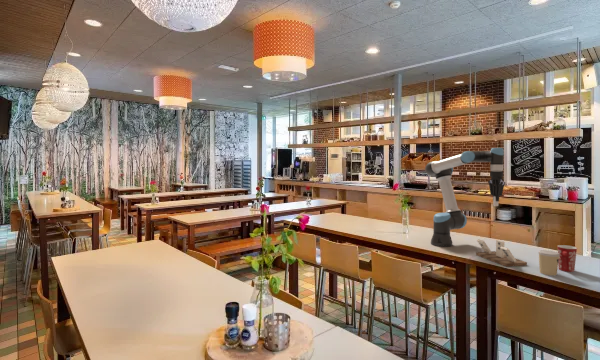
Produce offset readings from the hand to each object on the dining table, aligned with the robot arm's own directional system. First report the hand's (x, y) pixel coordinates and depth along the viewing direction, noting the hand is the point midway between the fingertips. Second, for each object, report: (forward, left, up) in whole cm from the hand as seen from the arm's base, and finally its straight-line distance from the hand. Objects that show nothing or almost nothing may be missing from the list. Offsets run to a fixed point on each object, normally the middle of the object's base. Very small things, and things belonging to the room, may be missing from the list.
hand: (495, 205), depth 231 cm
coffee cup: (+42, -2, -33) cm, 53 cm away
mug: (+40, +12, -33) cm, 53 cm away
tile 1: (+4, -9, -30) cm, 32 cm away
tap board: (+14, -8, -32) cm, 36 cm away
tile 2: (+14, -9, -30) cm, 35 cm away
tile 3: (+24, -9, -30) cm, 40 cm away
